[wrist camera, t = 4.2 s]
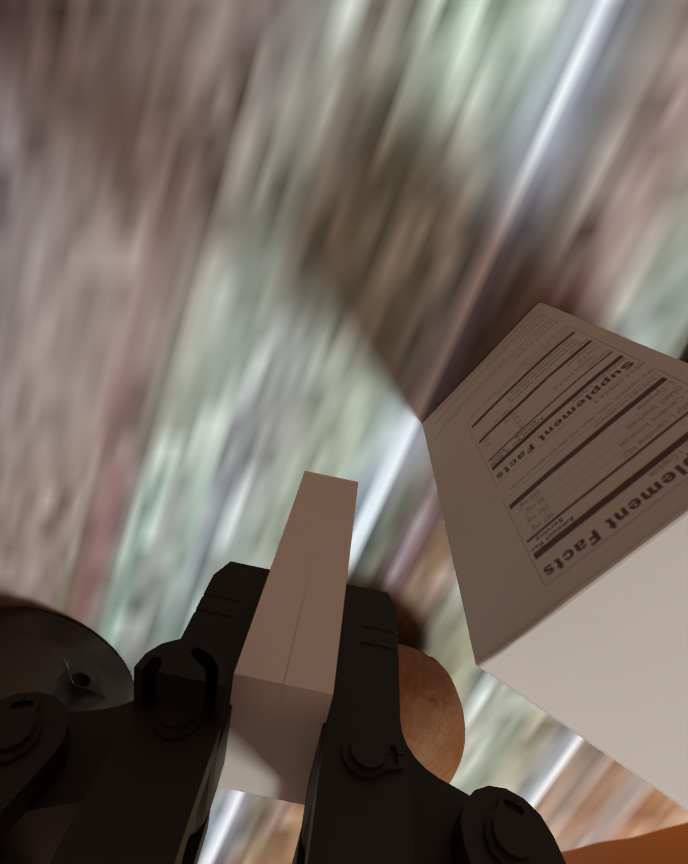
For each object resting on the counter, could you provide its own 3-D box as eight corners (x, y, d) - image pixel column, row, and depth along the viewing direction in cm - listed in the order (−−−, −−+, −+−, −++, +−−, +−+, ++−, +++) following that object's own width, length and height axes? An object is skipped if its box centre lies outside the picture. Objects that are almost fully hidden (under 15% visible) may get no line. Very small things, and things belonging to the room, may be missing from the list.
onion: (478, 636, 33) (513, 791, 24) (416, 718, 37) (426, 879, 27) (354, 586, 32) (341, 725, 23) (303, 674, 36) (275, 825, 27)
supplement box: (417, 423, 27) (457, 664, 12) (538, 295, 24) (808, 399, 9) (533, 517, 29) (702, 835, 14) (661, 409, 26) (1070, 664, 10)
